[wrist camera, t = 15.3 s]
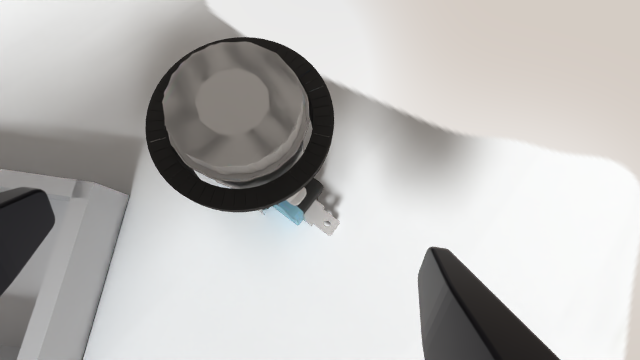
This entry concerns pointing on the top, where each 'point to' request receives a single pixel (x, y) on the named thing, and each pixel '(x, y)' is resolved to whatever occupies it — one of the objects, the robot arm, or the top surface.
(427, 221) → the top surface
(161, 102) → the push button
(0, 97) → the top surface
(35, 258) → the grey tray
